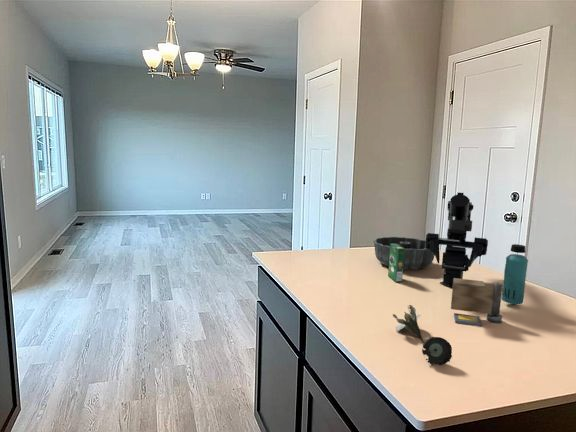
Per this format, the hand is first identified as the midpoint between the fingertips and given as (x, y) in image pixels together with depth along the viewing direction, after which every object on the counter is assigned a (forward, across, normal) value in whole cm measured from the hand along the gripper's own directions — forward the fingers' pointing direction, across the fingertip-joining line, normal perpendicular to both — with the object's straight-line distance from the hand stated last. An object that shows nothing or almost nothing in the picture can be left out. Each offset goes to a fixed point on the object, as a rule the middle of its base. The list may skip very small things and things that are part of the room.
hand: (453, 264), depth 137 cm
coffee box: (-6, -20, +23) cm, 31 cm away
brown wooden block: (+16, +7, +1) cm, 17 cm away
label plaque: (+18, +5, +2) cm, 19 cm away
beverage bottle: (+2, +18, +16) cm, 24 cm away
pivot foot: (+15, +12, +5) cm, 20 cm away
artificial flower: (+35, -7, -11) cm, 37 cm away
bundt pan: (-24, -20, +38) cm, 49 cm away
